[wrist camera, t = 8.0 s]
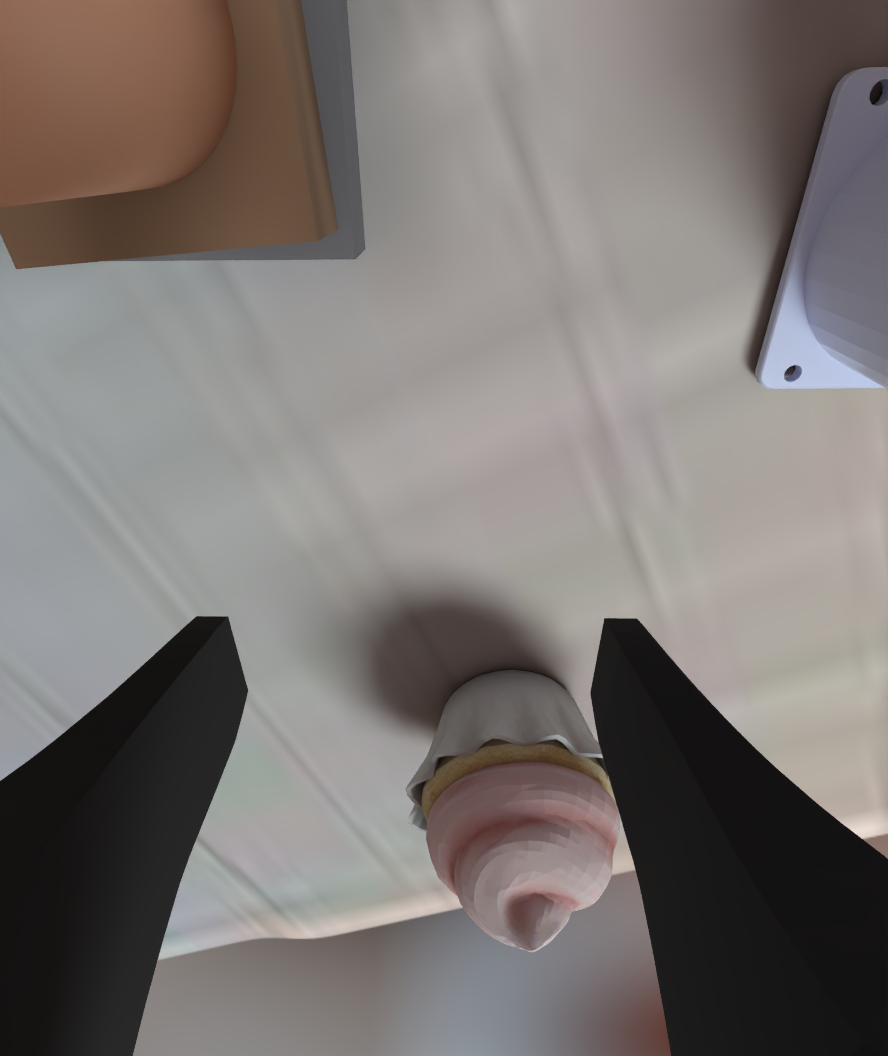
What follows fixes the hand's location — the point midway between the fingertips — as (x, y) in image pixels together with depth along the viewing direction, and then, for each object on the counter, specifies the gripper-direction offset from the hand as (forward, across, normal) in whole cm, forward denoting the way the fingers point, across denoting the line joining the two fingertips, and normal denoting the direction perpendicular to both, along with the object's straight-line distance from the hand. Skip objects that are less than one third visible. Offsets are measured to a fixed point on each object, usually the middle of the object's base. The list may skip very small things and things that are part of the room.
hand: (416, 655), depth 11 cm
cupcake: (+11, -3, +14) cm, 18 cm away
